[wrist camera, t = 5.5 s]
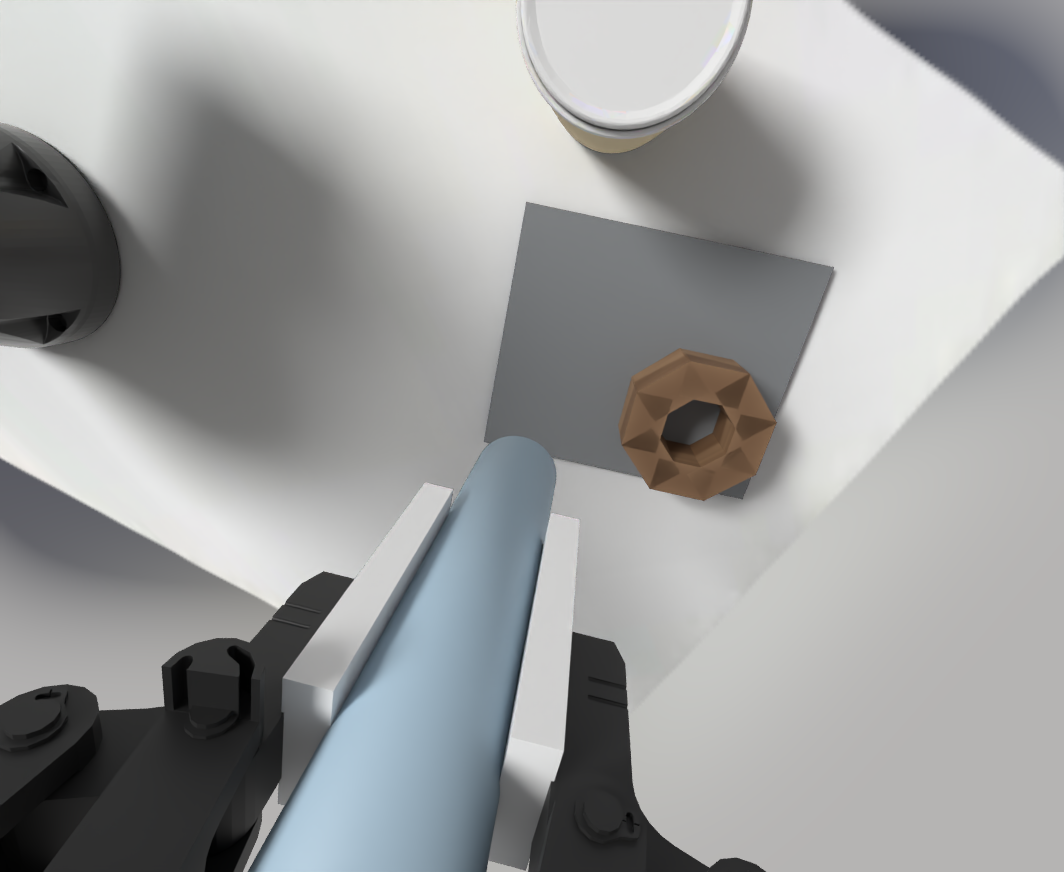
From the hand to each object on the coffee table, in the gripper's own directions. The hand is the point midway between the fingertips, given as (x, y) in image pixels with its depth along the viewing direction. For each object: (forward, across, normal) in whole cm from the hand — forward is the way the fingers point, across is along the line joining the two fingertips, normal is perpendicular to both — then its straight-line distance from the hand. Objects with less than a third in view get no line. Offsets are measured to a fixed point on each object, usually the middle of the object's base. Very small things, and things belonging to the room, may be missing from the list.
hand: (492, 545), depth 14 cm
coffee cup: (+26, 0, +17) cm, 31 cm away
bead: (+25, +10, -2) cm, 27 cm away
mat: (+26, +6, +1) cm, 26 cm away
